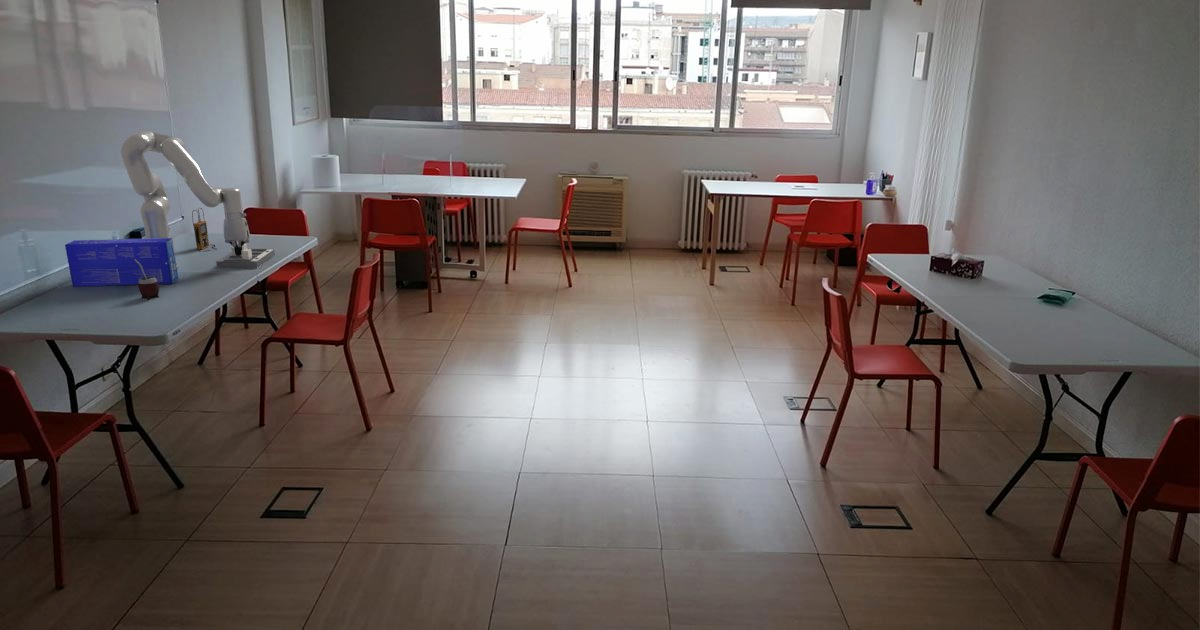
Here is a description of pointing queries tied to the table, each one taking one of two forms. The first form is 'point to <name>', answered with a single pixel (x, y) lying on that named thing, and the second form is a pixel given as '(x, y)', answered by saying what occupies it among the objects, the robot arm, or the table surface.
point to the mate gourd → (148, 286)
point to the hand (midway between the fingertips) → (239, 255)
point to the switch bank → (237, 262)
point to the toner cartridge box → (121, 261)
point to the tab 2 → (246, 254)
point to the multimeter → (201, 233)
